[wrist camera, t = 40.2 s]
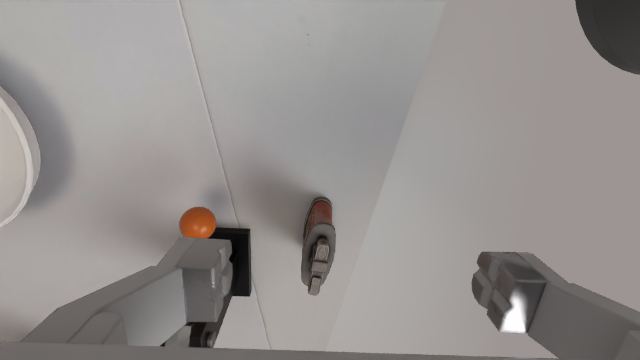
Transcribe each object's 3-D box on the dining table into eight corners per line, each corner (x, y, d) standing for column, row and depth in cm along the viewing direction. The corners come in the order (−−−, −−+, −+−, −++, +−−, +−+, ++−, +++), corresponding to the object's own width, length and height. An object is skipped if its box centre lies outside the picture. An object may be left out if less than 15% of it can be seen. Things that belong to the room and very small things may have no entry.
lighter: (310, 194, 38) (309, 234, 29) (336, 199, 38) (343, 239, 29) (299, 248, 41) (295, 301, 31) (323, 252, 41) (326, 305, 32)
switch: (189, 208, 34) (176, 203, 30) (222, 210, 34) (212, 205, 30) (169, 348, 30) (151, 360, 27) (205, 349, 30) (192, 361, 27)
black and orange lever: (188, 226, 39) (120, 309, 25) (250, 228, 40) (215, 312, 26) (194, 288, 43) (136, 393, 29) (251, 290, 43) (221, 394, 29)
